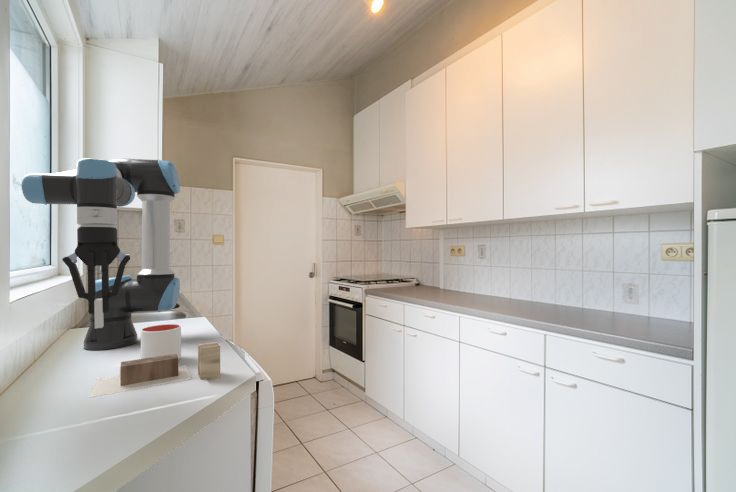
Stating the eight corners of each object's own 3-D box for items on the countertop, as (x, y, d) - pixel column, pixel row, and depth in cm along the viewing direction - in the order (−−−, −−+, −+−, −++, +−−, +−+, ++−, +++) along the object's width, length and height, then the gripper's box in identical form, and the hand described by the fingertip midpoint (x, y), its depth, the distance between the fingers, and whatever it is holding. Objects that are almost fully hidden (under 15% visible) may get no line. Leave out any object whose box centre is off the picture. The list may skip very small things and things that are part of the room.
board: (95, 381, 89) (95, 379, 89) (186, 366, 100) (186, 364, 100) (89, 399, 78) (89, 397, 78) (191, 380, 89) (191, 378, 89)
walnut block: (121, 361, 89) (176, 353, 95) (121, 380, 89) (176, 370, 95) (120, 366, 85) (178, 357, 91) (120, 386, 85) (178, 375, 91)
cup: (188, 357, 108) (188, 324, 108) (166, 368, 98) (166, 332, 98) (156, 357, 109) (156, 324, 109) (132, 368, 99) (131, 331, 99)
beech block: (198, 375, 92) (197, 344, 92) (216, 372, 95) (216, 341, 95) (200, 381, 88) (200, 348, 89) (220, 377, 91) (220, 345, 91)
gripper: (58, 225, 78) (60, 334, 78) (130, 226, 85) (132, 326, 85) (64, 226, 84) (66, 327, 85) (131, 227, 91) (132, 320, 92)
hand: (99, 326), depth 85 cm, fingers closed
